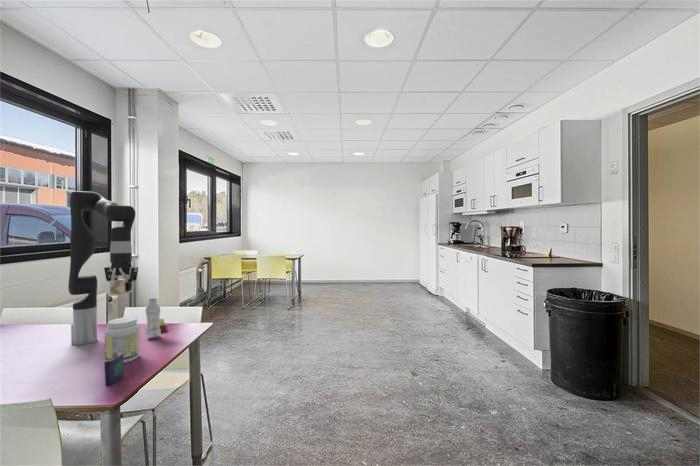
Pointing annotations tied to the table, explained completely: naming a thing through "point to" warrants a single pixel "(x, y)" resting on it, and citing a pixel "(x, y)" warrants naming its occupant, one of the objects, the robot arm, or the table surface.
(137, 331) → the supplement tub
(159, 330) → the plastic bottle
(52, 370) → the table surface
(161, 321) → the carton
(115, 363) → the flask
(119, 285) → the beech cube
